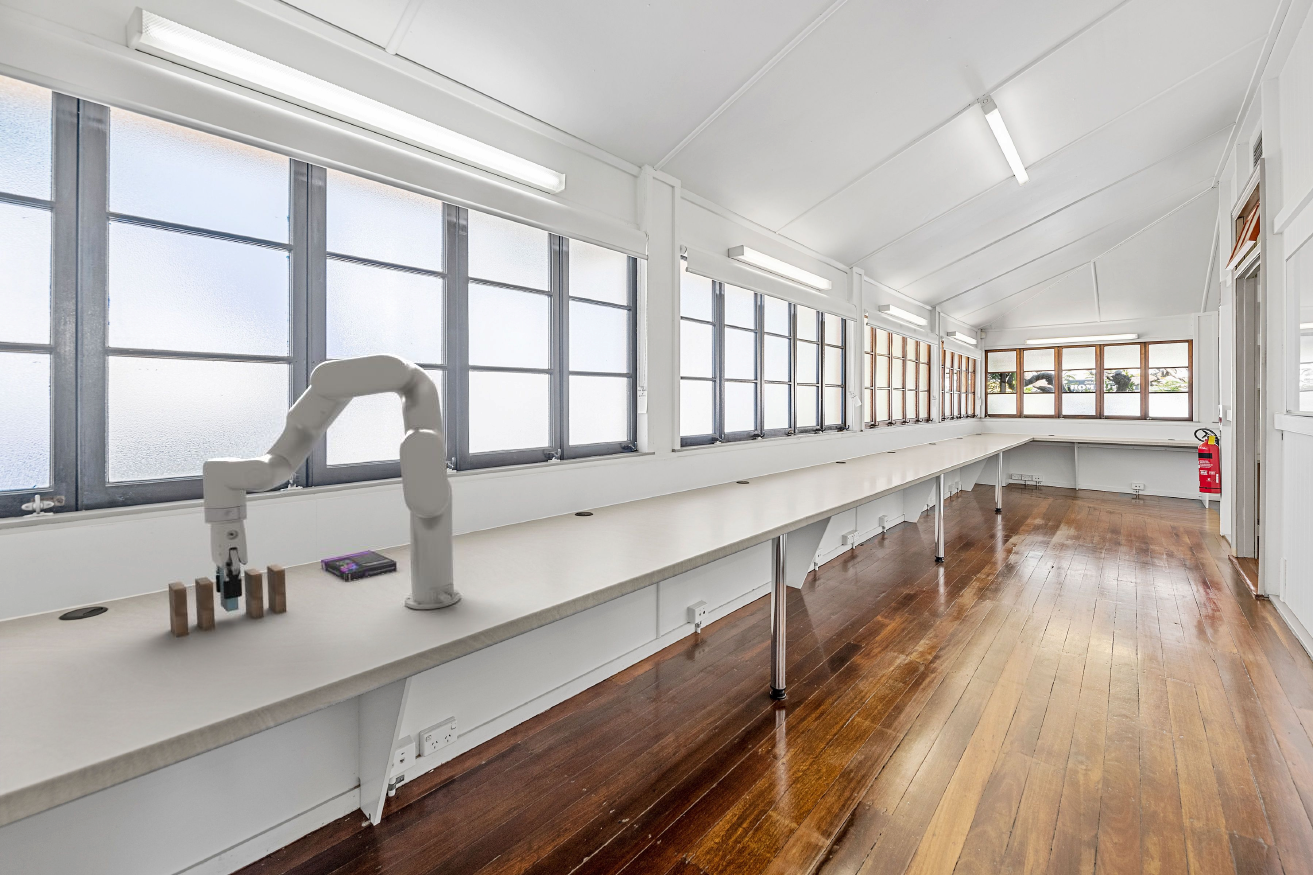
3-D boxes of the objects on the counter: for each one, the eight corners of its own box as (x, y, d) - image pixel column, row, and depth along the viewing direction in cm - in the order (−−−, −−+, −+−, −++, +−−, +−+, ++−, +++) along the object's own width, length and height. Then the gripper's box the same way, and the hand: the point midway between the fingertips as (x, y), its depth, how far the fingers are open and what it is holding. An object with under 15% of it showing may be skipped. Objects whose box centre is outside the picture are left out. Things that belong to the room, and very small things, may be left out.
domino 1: (182, 627, 126) (180, 581, 126) (188, 634, 122) (186, 587, 122) (170, 629, 125) (168, 583, 124) (176, 637, 121) (173, 589, 120)
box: (321, 571, 171) (345, 583, 158) (320, 559, 171) (344, 571, 158) (370, 561, 181) (397, 572, 168) (370, 549, 181) (396, 559, 168)
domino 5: (278, 605, 140) (276, 564, 139) (286, 611, 136) (284, 568, 135) (268, 607, 138) (266, 565, 137) (276, 613, 134) (274, 570, 134)
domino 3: (231, 603, 133) (229, 559, 132) (238, 609, 129) (236, 564, 128) (220, 605, 131) (218, 561, 131) (227, 611, 127) (225, 566, 127)
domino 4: (256, 610, 136) (254, 568, 136) (263, 616, 132) (262, 573, 132) (246, 612, 135) (244, 570, 134) (253, 619, 131) (251, 575, 130)
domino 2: (208, 621, 130) (206, 576, 129) (215, 628, 126) (212, 582, 125) (197, 623, 128) (195, 578, 127) (203, 630, 124) (201, 584, 123)
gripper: (257, 516, 126) (260, 598, 127) (236, 507, 137) (238, 582, 138) (214, 521, 120) (217, 607, 121) (196, 511, 132) (199, 589, 133)
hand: (229, 593), depth 130 cm, fingers closed on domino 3, 5 cm apart
